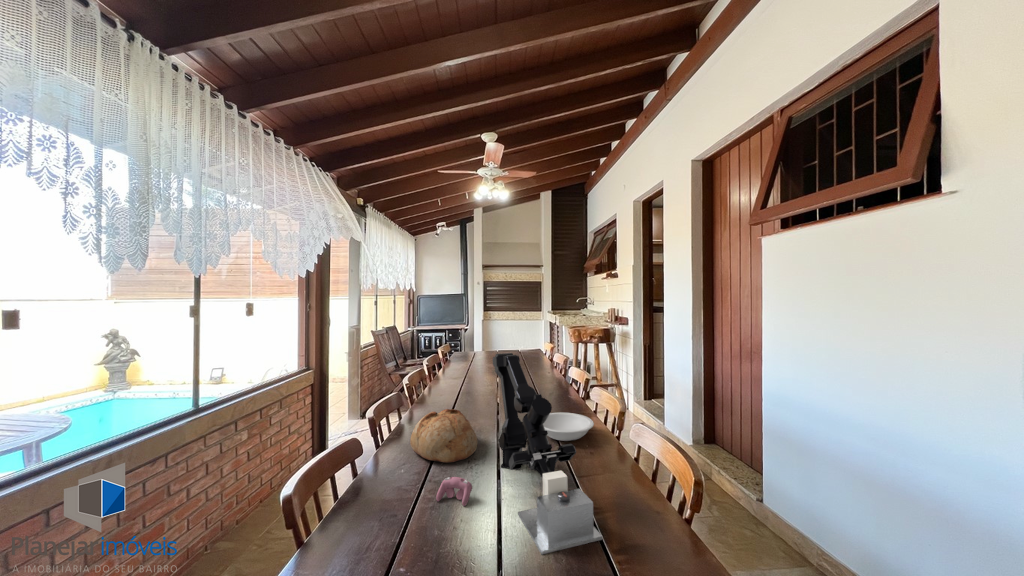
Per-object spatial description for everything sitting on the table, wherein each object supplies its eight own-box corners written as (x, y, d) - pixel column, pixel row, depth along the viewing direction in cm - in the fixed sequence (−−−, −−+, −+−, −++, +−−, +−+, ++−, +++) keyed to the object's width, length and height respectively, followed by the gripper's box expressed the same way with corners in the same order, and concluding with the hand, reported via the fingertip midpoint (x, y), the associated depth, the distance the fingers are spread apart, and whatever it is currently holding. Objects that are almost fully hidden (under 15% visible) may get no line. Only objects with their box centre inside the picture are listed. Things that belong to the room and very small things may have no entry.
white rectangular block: (543, 517, 99) (542, 473, 99) (562, 513, 100) (561, 470, 101) (559, 540, 89) (558, 492, 90) (579, 535, 91) (579, 488, 91)
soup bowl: (599, 449, 144) (599, 431, 144) (537, 449, 144) (537, 432, 144) (588, 426, 168) (587, 412, 168) (534, 427, 168) (534, 412, 168)
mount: (517, 514, 102) (517, 476, 102) (570, 503, 107) (570, 467, 107) (541, 554, 86) (540, 509, 86) (602, 539, 91) (601, 496, 91)
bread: (488, 455, 139) (487, 415, 140) (428, 473, 126) (427, 428, 127) (457, 434, 161) (457, 399, 162) (403, 447, 148) (403, 408, 149)
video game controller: (471, 506, 109) (475, 479, 112) (464, 507, 105) (469, 479, 108) (440, 500, 112) (445, 474, 115) (433, 501, 108) (439, 474, 111)
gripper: (556, 440, 119) (573, 493, 108) (500, 449, 113) (512, 505, 102) (567, 423, 112) (586, 478, 101) (507, 431, 106) (521, 490, 95)
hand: (551, 488), depth 100 cm, fingers closed, pressing on white rectangular block
